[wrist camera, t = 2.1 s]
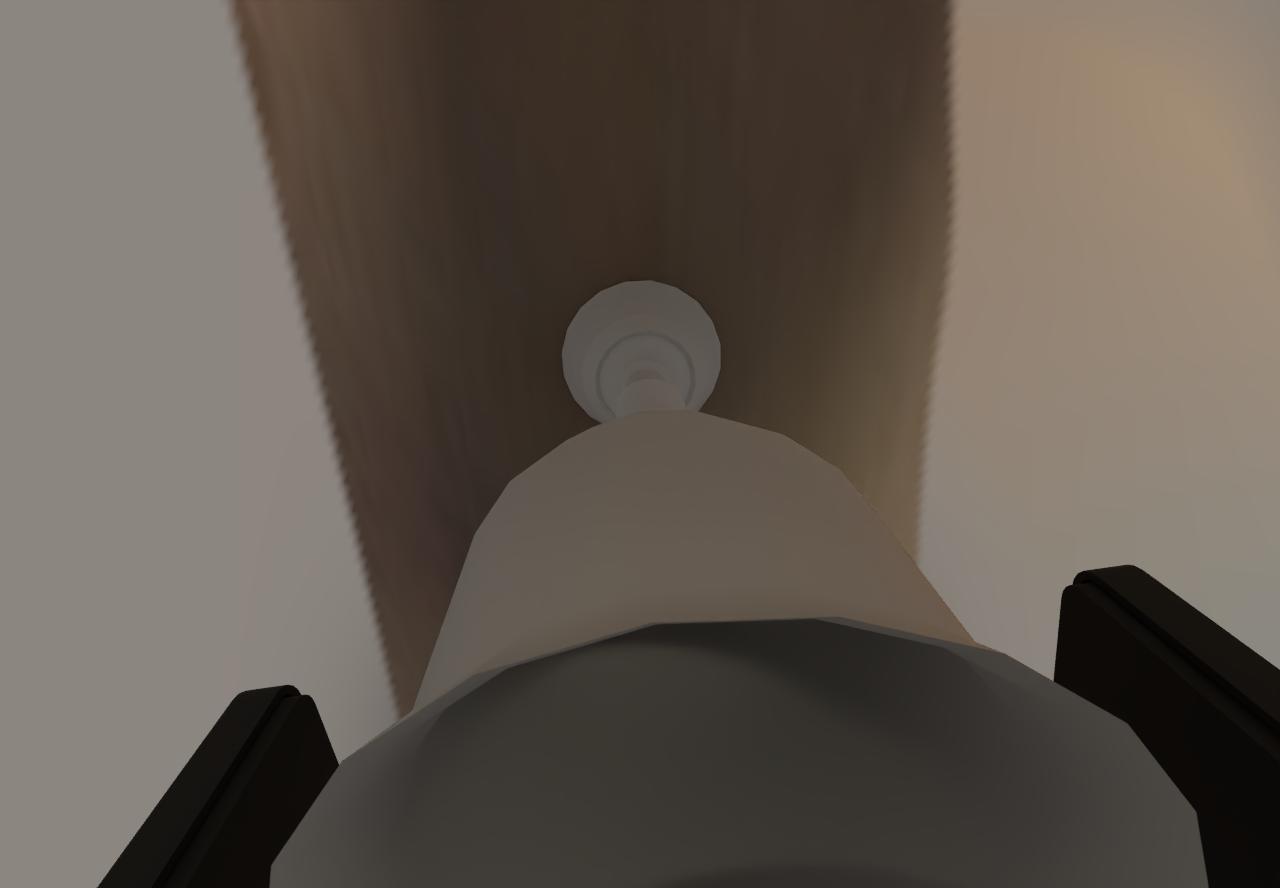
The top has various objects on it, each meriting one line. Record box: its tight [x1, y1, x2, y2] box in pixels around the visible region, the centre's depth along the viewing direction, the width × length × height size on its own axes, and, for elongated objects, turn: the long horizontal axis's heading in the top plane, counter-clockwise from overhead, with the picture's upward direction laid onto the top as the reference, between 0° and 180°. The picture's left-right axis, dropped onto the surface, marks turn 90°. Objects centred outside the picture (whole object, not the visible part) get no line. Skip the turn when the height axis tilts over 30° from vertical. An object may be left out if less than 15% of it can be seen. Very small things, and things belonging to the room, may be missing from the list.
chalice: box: [269, 280, 1209, 888], centre depth 14 cm, size 7×7×18 cm
